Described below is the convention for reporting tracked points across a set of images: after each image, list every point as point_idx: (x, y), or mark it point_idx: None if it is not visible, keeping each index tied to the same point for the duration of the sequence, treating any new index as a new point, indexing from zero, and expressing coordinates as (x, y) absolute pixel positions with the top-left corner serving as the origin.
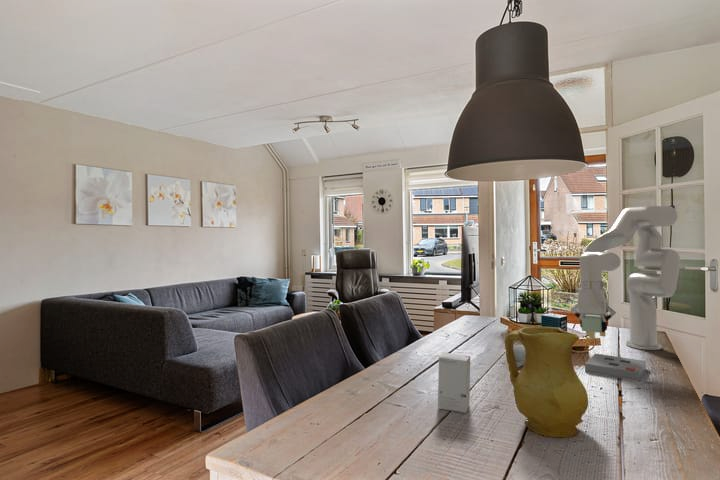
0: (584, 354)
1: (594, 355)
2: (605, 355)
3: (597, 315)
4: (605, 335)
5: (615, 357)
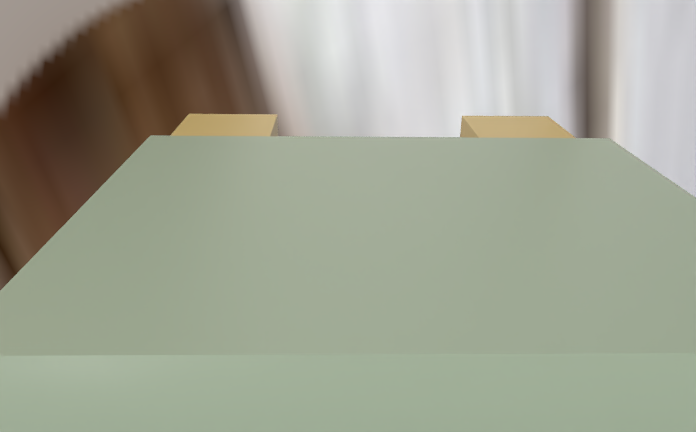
0: (219, 93)
1: None
2: None
3: (548, 403)
4: (548, 117)
5: None
